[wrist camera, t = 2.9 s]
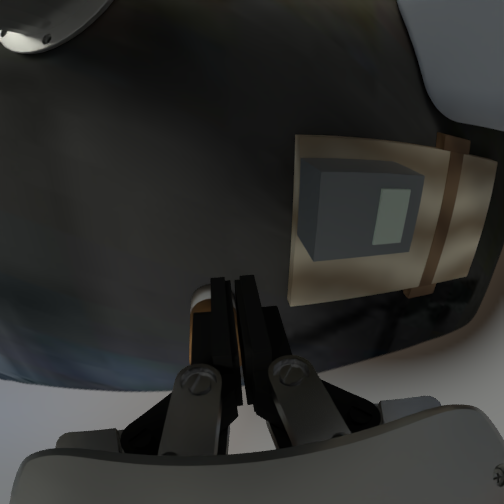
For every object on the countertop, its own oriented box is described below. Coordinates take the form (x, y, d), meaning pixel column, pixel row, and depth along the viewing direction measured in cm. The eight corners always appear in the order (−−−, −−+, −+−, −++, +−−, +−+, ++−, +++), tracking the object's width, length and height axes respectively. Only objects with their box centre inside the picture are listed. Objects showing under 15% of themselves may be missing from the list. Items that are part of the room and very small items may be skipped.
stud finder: (300, 157, 19) (322, 172, 16) (394, 161, 20) (426, 176, 16) (296, 234, 22) (314, 263, 19) (383, 229, 23) (410, 253, 19)
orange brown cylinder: (188, 285, 25) (185, 344, 19) (233, 282, 25) (242, 340, 19) (194, 319, 27) (193, 377, 21) (235, 315, 27) (244, 373, 21)
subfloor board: (295, 114, 19) (300, 115, 18) (492, 146, 22) (500, 149, 21) (286, 310, 28) (289, 319, 27) (457, 280, 31) (463, 286, 30)
